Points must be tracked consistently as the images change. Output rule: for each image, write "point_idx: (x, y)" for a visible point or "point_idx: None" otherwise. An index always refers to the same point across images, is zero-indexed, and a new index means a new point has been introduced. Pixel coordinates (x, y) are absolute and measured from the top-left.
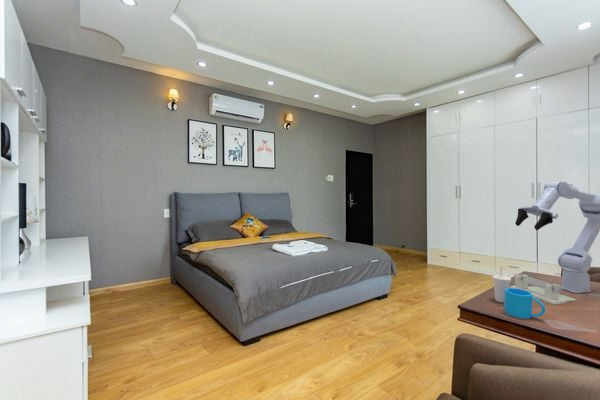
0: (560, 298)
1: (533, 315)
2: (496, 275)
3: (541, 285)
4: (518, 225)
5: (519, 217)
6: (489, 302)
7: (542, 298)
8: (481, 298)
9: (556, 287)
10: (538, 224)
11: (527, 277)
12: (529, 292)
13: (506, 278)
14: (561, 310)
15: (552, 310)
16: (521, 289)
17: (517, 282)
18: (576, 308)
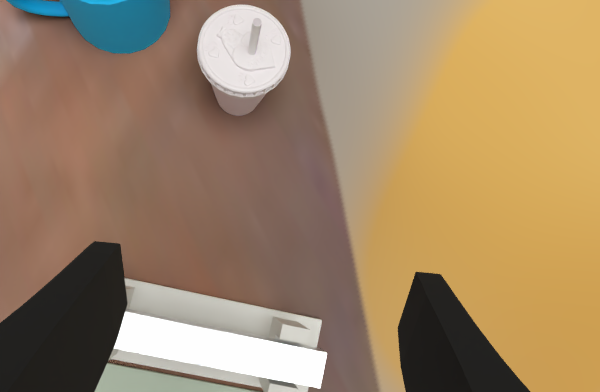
0: (102, 388)
1: (56, 2)
2: (283, 63)
3: (155, 316)
4: (401, 327)
5: (459, 357)
6: None
7: (143, 282)
8: (295, 47)
9: None
10: (51, 285)
11: (248, 350)
12: None
13: (222, 55)
14: (35, 217)
15: (57, 179)
16: (112, 2)
17: (287, 321)
18: (6, 315)
